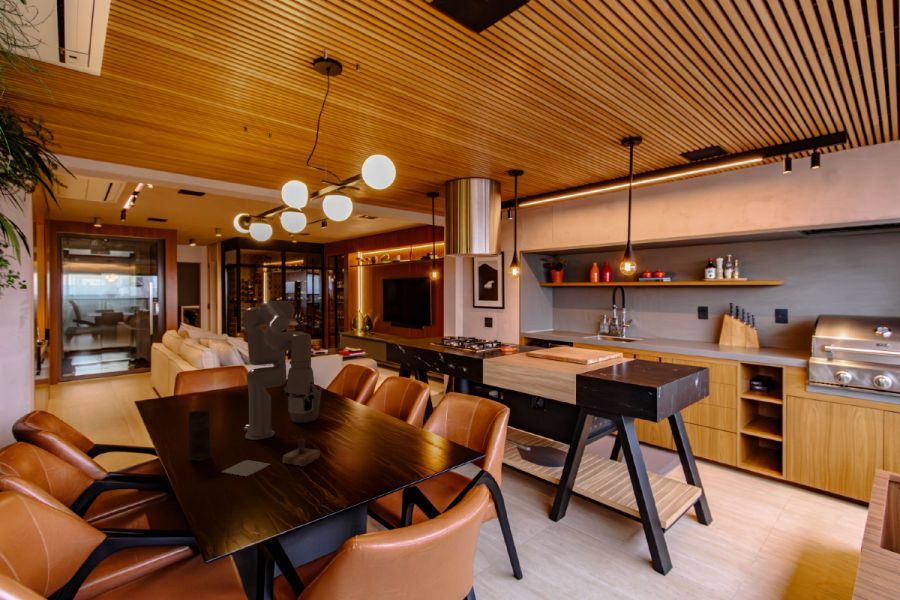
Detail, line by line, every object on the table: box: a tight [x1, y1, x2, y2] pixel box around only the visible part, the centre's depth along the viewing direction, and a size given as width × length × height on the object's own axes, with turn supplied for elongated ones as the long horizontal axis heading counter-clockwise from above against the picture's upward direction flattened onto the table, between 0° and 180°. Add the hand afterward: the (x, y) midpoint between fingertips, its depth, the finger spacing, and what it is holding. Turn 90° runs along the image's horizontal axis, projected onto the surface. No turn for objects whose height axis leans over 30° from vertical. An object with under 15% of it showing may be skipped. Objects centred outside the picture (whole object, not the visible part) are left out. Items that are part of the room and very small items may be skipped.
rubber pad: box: [220, 459, 272, 478], centre depth 163 cm, size 12×12×1 cm
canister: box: [287, 383, 324, 424], centre depth 226 cm, size 18×18×21 cm
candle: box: [188, 407, 212, 462], centre depth 172 cm, size 8×7×20 cm
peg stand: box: [282, 438, 321, 467], centre depth 171 cm, size 10×10×8 cm
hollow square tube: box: [287, 394, 313, 414], centre depth 171 cm, size 7×7×6 cm
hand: (300, 409), depth 171 cm, fingers closed on hollow square tube, 6 cm apart
